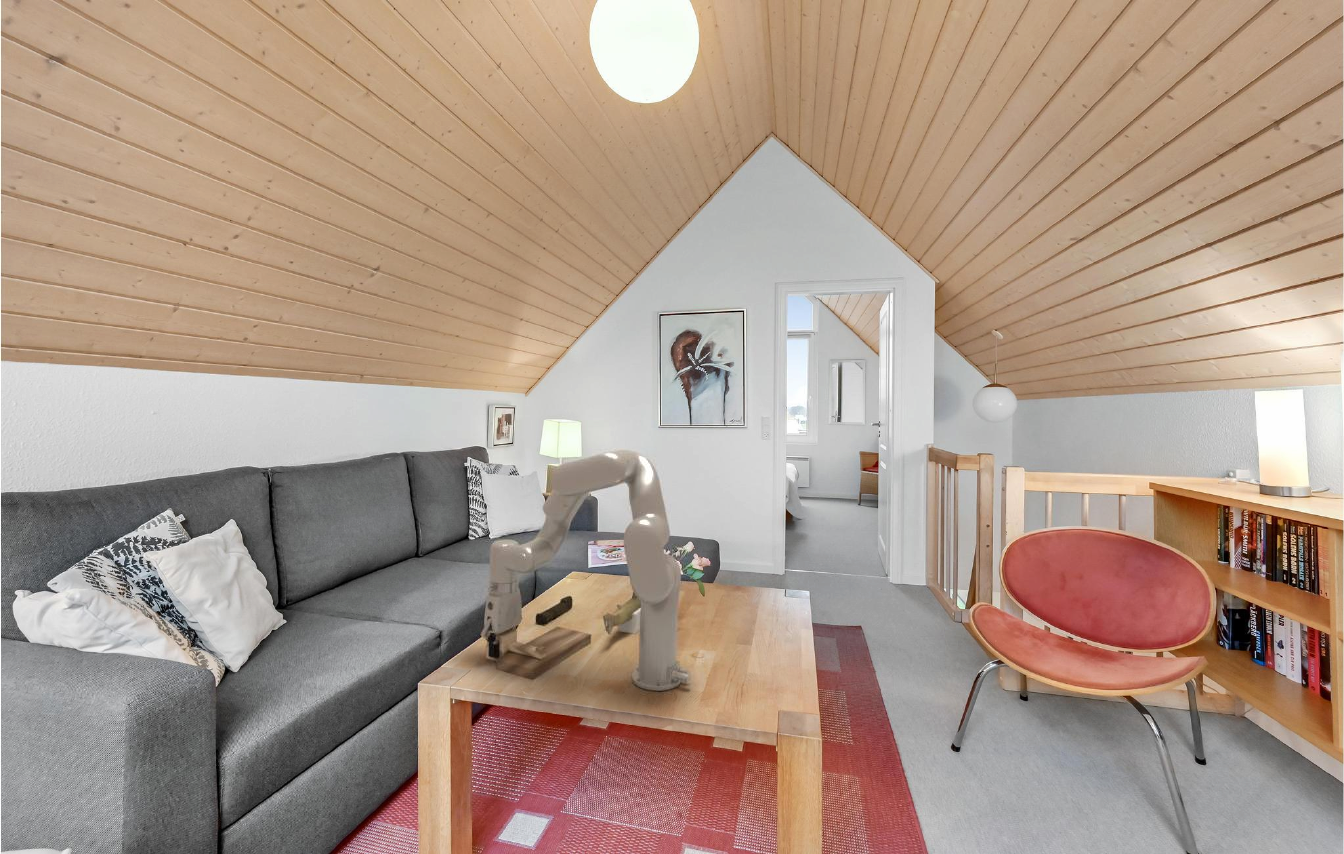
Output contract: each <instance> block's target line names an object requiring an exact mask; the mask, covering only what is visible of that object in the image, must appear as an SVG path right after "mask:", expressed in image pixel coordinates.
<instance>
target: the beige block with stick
mask: <svg viewBox="0 0 1344 854" xmlns="http://www.w3.org/2000/svg"><path fill="white" fill-rule="evenodd" d="M493 637H495V634H494V633H493ZM498 643H499V644H500V647H499V658H500V657H502V656H504V655H505V654H507V653H509V652H511V651H513V652H516V653H520V654H524V655H528V656H531V657H535V658H539V659H542V658H543V657H545V656H546V649H545V647H544V646H539V647H535V646H531V645H527V644H526V643H522V642H520V641H518V629H516V630H513V629H509V630H507V631H505V632H503V633H500V635H499V639H498ZM485 652H486V654H485V655H486V656H485V658H486V659H488V660H491V661H495V662H496V658H492V657H489V655H488V653H489V642H487V641H486V651H485ZM497 659H498V658H497Z"/></svg>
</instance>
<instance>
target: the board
mask: <svg viewBox="0 0 1344 854" xmlns="http://www.w3.org/2000/svg"><path fill="white" fill-rule="evenodd" d="M591 643H592V634H591V633H587V632H582V631H579V630H574V629H570V628H565V627H561V626H556V627H554V628H552V629H550V630H548V631H546V632H545V633H542V634H541V635H539V636H537V637H536V638H534V639H531V640H530V641H528V642H526V643H525V644H527V645H531V646H535V647H539V646H544V647H545V649H546V656H545V657H543V658H542V659H539V658H535V657H531V656H528V655H524V654H520V653H516V652H513V651H511V652H509V653H507V654H505V655H504V656H502V657H500V658H498V659H496V661H495V662H496V663H495V669H496V670H499V671H503V672H505V673H509V674H513V675H516V676H519V677H523V678H526V679H530V680H535V679H537V678H538V677H540V676H541V675H543V674H544V673H546V672H547V671H549V670H550V669H552V668H554V667H555V666H557V665H559V664H560V663H561V662H563V661H565V660H566V659H568V658H570V657H571V656H572V655H574V654H576V653H578V652H579V651H580V650H582V649H583V648H585V647H586V646H588V645H589V644H591Z"/></svg>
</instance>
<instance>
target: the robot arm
mask: <svg viewBox="0 0 1344 854" xmlns="http://www.w3.org/2000/svg"><path fill="white" fill-rule="evenodd" d="M657 472H658V471H657V470H656V467H655V465H654V463H652V461H650V460H649V458H647V457H646V456H645V455H643V454H642V453H638V452H637V451H633V450H627V449H619V450H618V449H617V450H614V451H607V452H602V453H599V454H595V455H592V456H587V457H583V458H581V459H576V460H571V461H567V462H564V463H561V464H560V465H558V466H557V467H556V468H555V469H554V470H553V472H552V475H551V478H550V480H551V482H550V484H551V487H552V490H551V492H550V494H549V495H548V497H547V498H546V500H545V502H544V503H543V505H542V511H543V513H544V515H545V520H544V523H543V525H542V527H541V529H540V530H539V532H538V534H537V535H536V536H535V538H534V539H533V540H530V541H528V542H525V543H523V544H519V542H518V541H516V540H513V539H499V540H495V541H493V542H492V543H491V544H490V550H489V551H490V552H489V575H488V576H489V578H488V579H489V580H488V588H487V590H488V594H487V598H486V601H485V602H486V603H485V611H484V622H483V623H484V625H483V626H484V627H483V629H482V630H481V632H480V636H481V637H482V638H483V639H485V641H486V643H487V642H489V653H488V655H489V657H492V658H496V659H497V658H499V647H500V644H499V643H498V639H499V635H500V633H503V632H505V631H507V630H509V629H513V630H518V628H519V625H520V624H521V622H522V619H523V617H522V615H523V612H522V611H523V610H522V608H523V607H522V596H521V591H520V588H519V574H524V575H526V574H530V573H534V572H535V571H536V570H539V568H542V567H544V566H545V565H547V564H548V563H550V562H551V561H552V560H553V559H554V557H555V556H556V554H557V552H558V551H559V550H560V549H561V546H562V545H563V543H564V542H565V539H566V538H567V536H568V533H569V530H570V527H571V523H572V520H573V519H574V517H575V516H576V514H577V512H578V511H579V509H580V507H581V506H582V505H583V503H584V501H585V500H586V498H587V497H588V495H589V494H590V493H592V492H595V491H600V490H604V489H608V488H613V487H616V486H618V485H619V486H620V485H621V484H626V485H627V488H628V499H629V506H630V509H631V516H632V521H631V522H630V523H629V524H628V525H627V527H626V529H625V530H624V535H623V549H624V555H625V561H626V566H627V572H628V576H629V581H630V585H631V589H632V593H633V592H634V593H635V595H636V597H637V598H638V599H639V600H641V612H640V630H639V638H638V639H639V641H638V642H639V643H638V645H639V646H638V667H637V668H635V669H634V670H633V671H632V673H631V681H632V683H634V684H635V685H636V686H637V687H639V688H641V689H645V690H649V691H657V692H659V691H660V692H661V691H669V690H672V689H675V688H676V687H678V686H679V685H680V684H681V683H682V682H683V683H689V682H690V680H691V674H690V670H689V669H685V668H681V667H680V665H681V663H680V662H681V661H679V660H677V650H678V649H677V647H678V644H677V642H678V618H679V601H680V591H681V590H680V589H681V583H682V582H681V580H682V574H681V572H682V571H681V567H680V565H679V562H678V561H677V560H676V558H675V557H673V556H672V555H670V554H667V553H665V550H664V549H665V548H664V547H665V546H666V544H667V543H668V542H669V539H670V535H671V531H670V525H669V522H668V517H667V513H666V507H665V501H664V497H663V494H662V487H661V483H660V479H659V475H658V473H657ZM493 633H494V634H495V637H493Z"/></svg>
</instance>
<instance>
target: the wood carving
mask: <svg viewBox="0 0 1344 854" xmlns="http://www.w3.org/2000/svg"><path fill="white" fill-rule="evenodd" d="M616 607H617V608H616V609H615V610H614V611H613V612H612V613H610V612H605V613H604V614H603V615H602V618H603V623H604V630H605V631H606V632H607V634H608V635H611V633H612V631H613V628H614V627H617V632H623V633H628V634H634V635H636V634H637V633H639V632H640V612H641V600H639V599H638V598H637V597H636V595H635V593H634V592H633V591H632V596H631V598H630V599H628V600H627V601H625V602H624V603H623V604H622V605H620V604H617V605H616Z"/></svg>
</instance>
